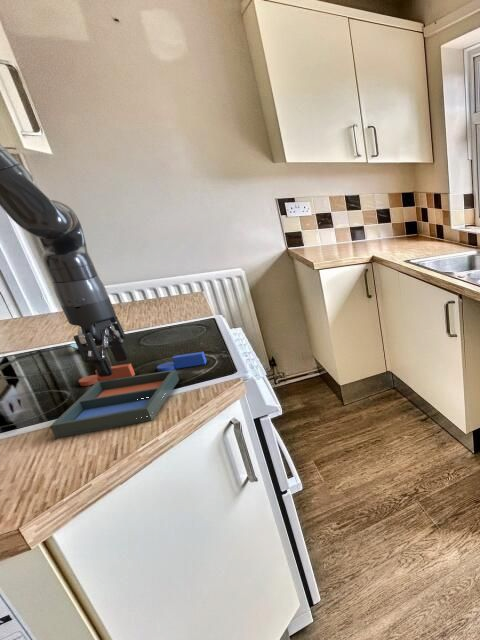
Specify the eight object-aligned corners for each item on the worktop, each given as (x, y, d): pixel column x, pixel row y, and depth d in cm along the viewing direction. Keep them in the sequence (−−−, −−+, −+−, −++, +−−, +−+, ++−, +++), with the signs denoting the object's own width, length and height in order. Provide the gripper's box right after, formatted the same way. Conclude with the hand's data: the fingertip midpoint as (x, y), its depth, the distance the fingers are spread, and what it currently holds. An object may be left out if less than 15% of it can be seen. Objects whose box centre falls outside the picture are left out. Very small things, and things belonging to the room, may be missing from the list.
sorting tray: (55, 438, 75) (49, 426, 74) (101, 392, 90) (96, 381, 89) (152, 420, 80) (147, 408, 79) (179, 379, 95) (175, 369, 94)
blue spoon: (155, 373, 98) (151, 362, 97) (161, 367, 101) (157, 356, 100) (204, 366, 102) (200, 355, 100) (207, 360, 105) (204, 349, 104)
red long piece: (76, 387, 92) (71, 376, 91) (84, 380, 96) (79, 369, 94) (131, 378, 96) (126, 367, 95) (136, 372, 99) (132, 361, 98)
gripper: (78, 293, 94) (107, 358, 100) (42, 311, 82) (78, 385, 88) (120, 288, 96) (146, 352, 103) (91, 306, 84) (122, 377, 91)
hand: (114, 367), depth 95 cm, fingers open, 8 cm apart
